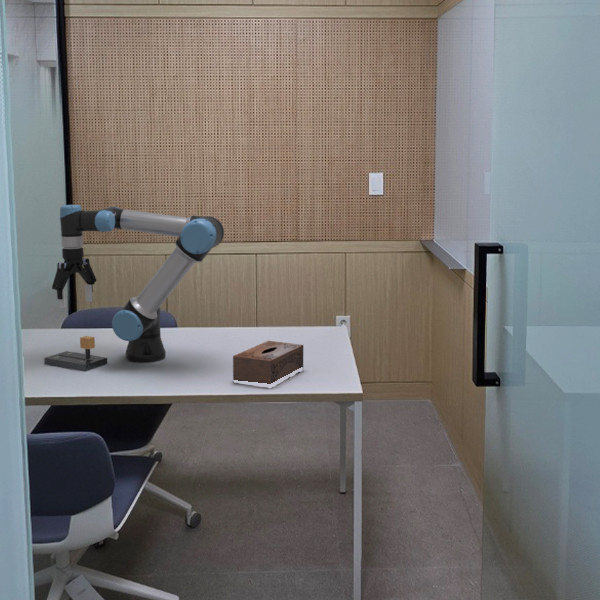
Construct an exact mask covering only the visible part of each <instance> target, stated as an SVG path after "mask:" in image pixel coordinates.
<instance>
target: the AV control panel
mask: <svg viewBox="0 0 600 600" xmlns="http://www.w3.org/2000/svg"><path fill="white" fill-rule="evenodd" d="M43 363H44V365H46V366H52V367H57V368H62V369H63V368H64V369H67V370H68V369H69V370H75V371H82V372H88V371H91V370H93V369H97V368H100V367H104V366H106V365H108V357H106V356H100V355H93V354H90V359H86V353H81V352H75V351H69V350H66V351H63V352H58V353H56V354H52V355H49V356H46V357H43Z"/></svg>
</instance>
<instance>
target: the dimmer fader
mask: <svg viewBox="0 0 600 600" xmlns="http://www.w3.org/2000/svg"><path fill="white" fill-rule="evenodd" d="M79 339H80V340H79V341H80V346H79V347H80V349H83V350H84V351H85V353H84V354H86V359H90V355H91V349H95V348H96V346H95V345H96V344H95V340H96V339H95V336H90V335H84V336H80V337H79Z"/></svg>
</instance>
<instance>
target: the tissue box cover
mask: <svg viewBox="0 0 600 600" xmlns="http://www.w3.org/2000/svg"><path fill="white" fill-rule="evenodd" d="M301 367H303V368H304V344H298V343H290V342H282V341H274V340H273V341H272V340H267V341H264V342H262V343H260V344H257V345H255V346H253V347H251V348H248V349H246V350H244V351H242V352H239V353H237V354H235V355H233V356H232V373H233V374H232V381H233V380H238V381H248V382H258V383H267V384H271V383H273V382H275V381H277V380H278V379H280V378H282V377H284V376H286V375H288V374H290V373H292V372H293V371H295V370H297V369H299V368H301Z"/></svg>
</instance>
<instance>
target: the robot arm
mask: <svg viewBox="0 0 600 600" xmlns="http://www.w3.org/2000/svg"><path fill="white" fill-rule="evenodd" d="M59 220H60V233H61V236H60V237H61V247H62V249H61V251H62V253H61V254H62V255H61V256H62V259H63V262H57V263H56V264H57V267H56V272H55V275H54V280H53V283H52V285H51V289H52V290H54V291H56V295H57V296H56V297H57V300H58V308H59V309H66V308H67V303H66V302H67V301H66V290H64V288H65V287H66V285H67V282H68V280H69V278H70V277H71V276H72V275H73V274H76V273H77V274H79V275H80V277H81V278H82V279H83V281H84V282H85V284H84V293H85V302H86V303H92V302H93V292H94V291H93V285H95V283H96V282H97V281H98V280H97V277H96V276H95V273H94V271H93V269H92V267H91V264H90V259H89V258H84V257H85V254H84V248H83V246H84V239H83V237H84V236H83V232H97V233H98V232H101V233H104V232H112V231H113V230H114V229H117V230H125V231H130V232H131V231H132V232H133V231H134V232H139V233H146V234H154V235H159V236H168V237H176V238H177V239H176V240H175V242H174V243H175V244H174V245H175V248H174V250H173V251H172V252H171V254H170V255H169V256H168V257H167V258H166V260H165V261H164V262H163V264H162V265H161V266H160V267H159V269H158V270H157V271H156V273H155V274H154V275H153V276H152V277H151V279H150V280H149V282H148V283H147V284H146V285H145V286H144V288H143V289H142V291H141V292H140V293H139V294H138V295H137V296H132V297H130V299H129V300H128V301H127V303H126V304H124V306H123V308H122V309H121V310H119V311H117V312H116V313H115V314H114V316H113V317H112V321H111V327H112V331H113V332H114V335H116V337H118V338H119V340H122V341H125V342H128V343H127V347H126V350H125V359H126V360H127V361H130V362H135V363H138V362H139V363H151V362H157V361H158V362H159V361H161V360H164V359H166V349H165V347H164V343H163V340H162V337H161V336H162V334H161V306H162V305H163V304H164V302H165V301H166V300H167V299H168V297H169V296H170V295H171V293H172V292H174V290H175V289H176V287H177V286H178V285H179V284H180V282H181V281H182V280H183V279H184V277H185V276H186V275H187V274H188V272H189V271H190V270H191V268H193V266H194V265H195V263H202V261H203V260H204V259H205V258H206V256H207V255H208V254H209V253H210V252H211V251H212V249H213V248H215V247H218V246H219V245H220V244H221V242H223V240H224V236H225V228H224V226H223V224H222V222H221V221H220V220H219V219H218V218H216V217H214V216H208V215H205V216H201V215H193V214H192V215H190V216H189V217H187V216H186V217H185V216H178V215H169V214H161V213H155V212H149V211H148V212H147V211H139V210H131V209H123V208H120V207H117V206H109V207H106V208H102V209H96V210H82V207H81V205H80V204H64V205H61V206H60V208H59Z"/></svg>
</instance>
